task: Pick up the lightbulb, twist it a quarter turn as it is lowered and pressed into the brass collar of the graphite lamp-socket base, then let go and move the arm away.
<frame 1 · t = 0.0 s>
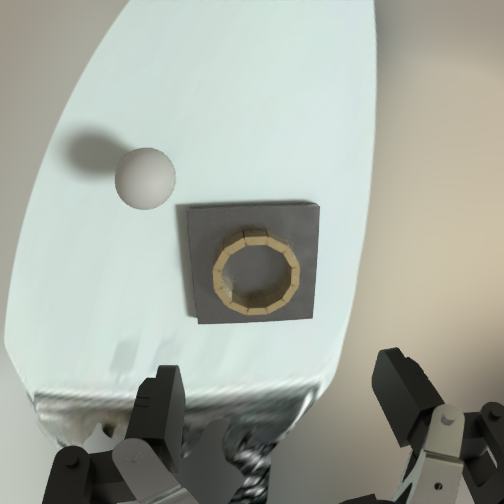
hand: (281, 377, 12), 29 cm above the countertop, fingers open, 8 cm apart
lightbulb: (162, 169, 37), on the countertop
lamp socket: (254, 264, 42), on the countertop
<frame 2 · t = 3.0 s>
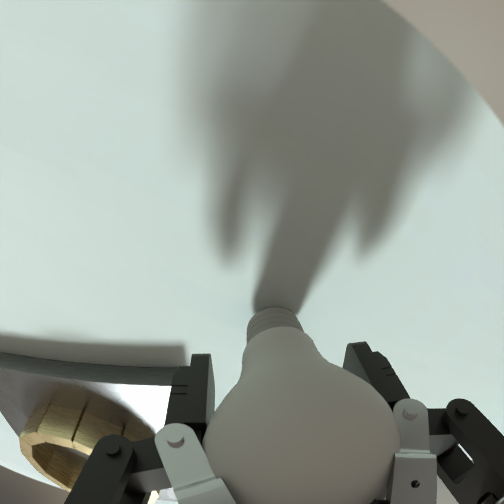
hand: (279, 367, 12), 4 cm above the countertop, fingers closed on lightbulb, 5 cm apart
lightbulb: (270, 317, 16), on the countertop, touching gripper
lamp socket: (97, 437, 19), on the countertop
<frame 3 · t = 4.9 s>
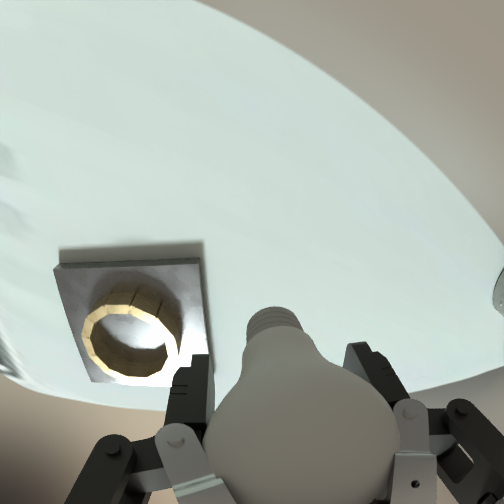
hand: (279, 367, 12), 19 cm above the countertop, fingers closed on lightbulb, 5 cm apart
lightbulb: (270, 317, 16), point 16 cm above the countertop, touching gripper
lamp socket: (136, 326, 33), on the countertop
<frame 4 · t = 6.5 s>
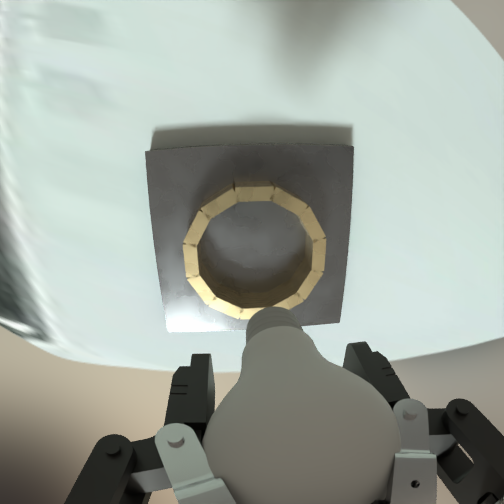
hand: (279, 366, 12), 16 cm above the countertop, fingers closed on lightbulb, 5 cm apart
lightbulb: (270, 317, 16), point 12 cm above the countertop, touching gripper
lamp socket: (252, 240, 27), on the countertop
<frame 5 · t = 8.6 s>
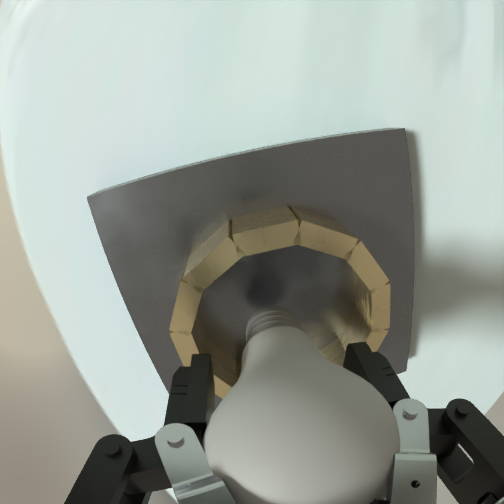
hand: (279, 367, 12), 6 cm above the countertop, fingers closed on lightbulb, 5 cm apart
lightbulb: (270, 317, 16), point 2 cm above the countertop, touching gripper
lamp socket: (275, 293, 18), on the countertop
when the fingers open (5 cm above the countertop, at t = 10.0 s): lightbulb stays where it is, resting on lamp socket.
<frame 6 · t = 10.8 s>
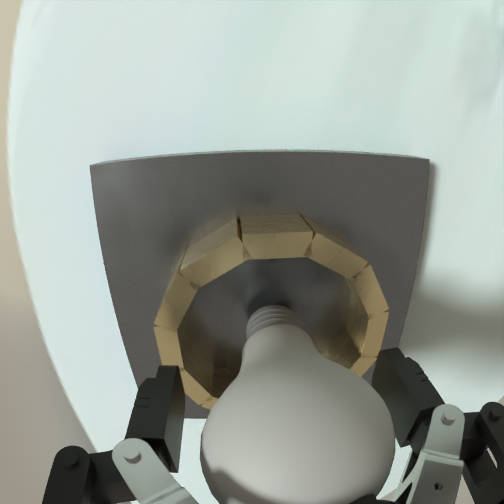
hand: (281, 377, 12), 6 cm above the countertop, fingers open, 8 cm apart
lightbulb: (270, 315, 16), point 1 cm above the countertop, touching lamp socket
lamp socket: (266, 301, 17), on the countertop
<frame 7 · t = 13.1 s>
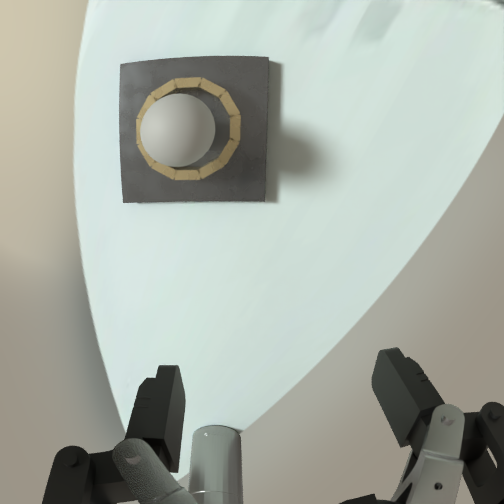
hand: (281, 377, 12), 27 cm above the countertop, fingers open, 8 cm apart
lightbulb: (191, 129, 31), point 1 cm above the countertop, touching lamp socket
lamp socket: (192, 128, 32), on the countertop
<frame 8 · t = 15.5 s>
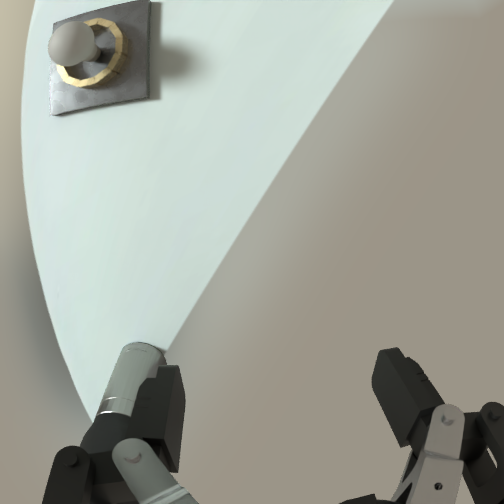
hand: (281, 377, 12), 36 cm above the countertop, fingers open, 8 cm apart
lightbulb: (95, 55, 35), point 1 cm above the countertop, touching lamp socket
lamp socket: (98, 56, 36), on the countertop
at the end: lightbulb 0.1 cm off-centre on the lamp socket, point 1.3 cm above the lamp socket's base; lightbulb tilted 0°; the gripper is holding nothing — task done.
